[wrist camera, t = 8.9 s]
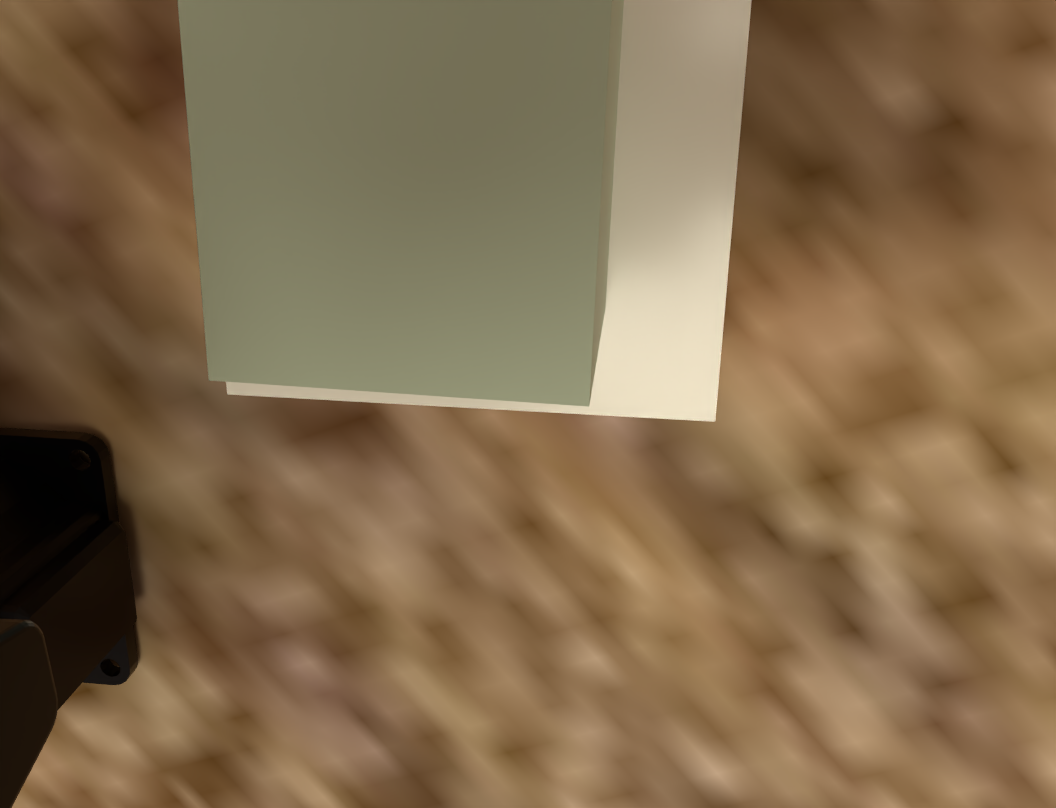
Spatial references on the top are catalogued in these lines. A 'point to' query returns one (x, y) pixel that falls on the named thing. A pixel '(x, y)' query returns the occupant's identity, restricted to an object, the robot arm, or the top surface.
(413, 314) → the cube
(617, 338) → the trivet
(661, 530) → the top surface
